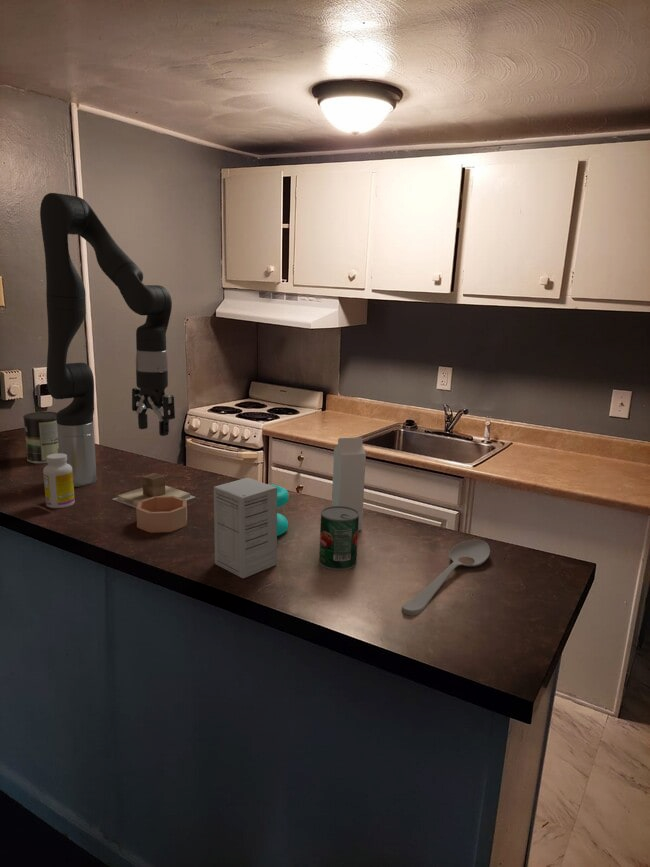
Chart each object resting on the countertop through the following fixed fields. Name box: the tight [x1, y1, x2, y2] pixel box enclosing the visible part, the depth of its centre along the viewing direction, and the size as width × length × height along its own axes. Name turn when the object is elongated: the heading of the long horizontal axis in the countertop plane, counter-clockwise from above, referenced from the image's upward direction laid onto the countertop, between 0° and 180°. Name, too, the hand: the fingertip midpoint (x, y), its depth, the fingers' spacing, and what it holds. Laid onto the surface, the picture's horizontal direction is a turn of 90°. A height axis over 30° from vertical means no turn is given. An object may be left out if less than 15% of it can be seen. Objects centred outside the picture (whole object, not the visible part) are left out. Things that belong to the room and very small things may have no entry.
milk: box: [331, 436, 367, 531], centre depth 141 cm, size 6×6×22 cm
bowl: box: [135, 496, 188, 534], centre depth 140 cm, size 11×11×5 cm
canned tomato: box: [318, 505, 359, 571], centre depth 124 cm, size 8×8×11 cm
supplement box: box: [213, 477, 278, 579], centre depth 120 cm, size 10×9×17 cm
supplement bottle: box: [42, 453, 76, 509], centre depth 149 cm, size 7×7×13 cm
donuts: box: [270, 484, 290, 537], centre depth 138 cm, size 10×10×10 cm
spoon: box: [401, 538, 491, 617], centre depth 120 cm, size 35×8×3 cm, turn 144°
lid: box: [117, 472, 191, 506], centre depth 156 cm, size 13×13×6 cm
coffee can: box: [22, 411, 59, 465], centre depth 185 cm, size 10×10×14 cm
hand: (153, 431), depth 151 cm, fingers open, 8 cm apart
